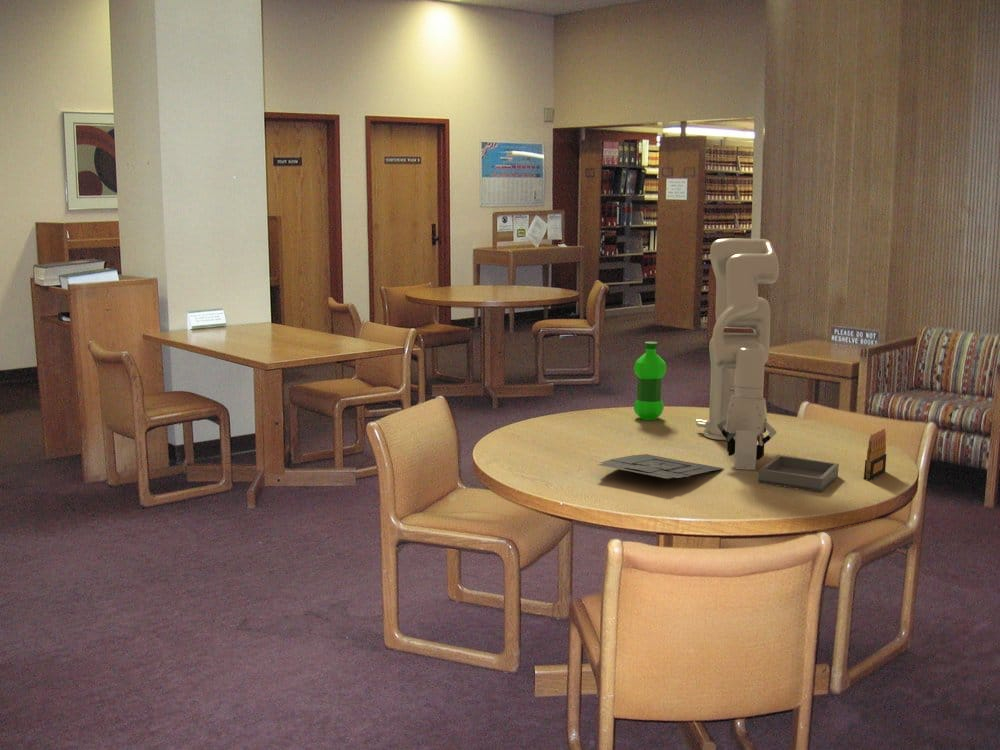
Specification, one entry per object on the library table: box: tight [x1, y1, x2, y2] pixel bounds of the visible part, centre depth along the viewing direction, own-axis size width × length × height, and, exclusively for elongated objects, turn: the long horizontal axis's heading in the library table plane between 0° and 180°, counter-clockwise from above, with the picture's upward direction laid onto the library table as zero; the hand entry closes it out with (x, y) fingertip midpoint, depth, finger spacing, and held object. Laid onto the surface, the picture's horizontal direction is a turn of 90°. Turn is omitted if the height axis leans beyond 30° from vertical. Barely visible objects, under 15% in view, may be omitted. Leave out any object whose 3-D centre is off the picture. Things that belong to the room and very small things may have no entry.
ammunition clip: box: [863, 428, 887, 481], centre depth 273 cm, size 11×2×12 cm, turn 140°
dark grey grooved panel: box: [597, 453, 724, 480], centre depth 274 cm, size 24×30×4 cm
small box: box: [733, 431, 758, 471], centre depth 281 cm, size 8×6×10 cm
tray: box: [758, 454, 840, 493], centre depth 269 cm, size 16×17×4 cm
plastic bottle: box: [633, 341, 667, 421], centre depth 336 cm, size 10×10×25 cm
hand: (745, 456), depth 281 cm, fingers closed on small box, 7 cm apart
